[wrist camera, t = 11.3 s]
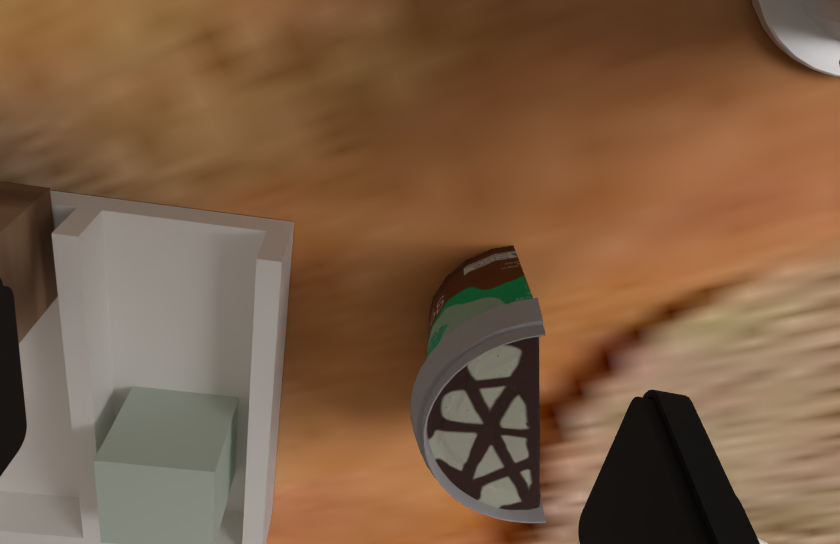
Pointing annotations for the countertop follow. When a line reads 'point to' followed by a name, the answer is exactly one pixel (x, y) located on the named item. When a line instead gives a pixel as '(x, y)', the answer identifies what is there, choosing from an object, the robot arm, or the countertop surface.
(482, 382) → the food container
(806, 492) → the countertop surface
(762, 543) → the decorative candle
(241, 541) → the white tray
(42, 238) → the brown block with stick
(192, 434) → the sage block
